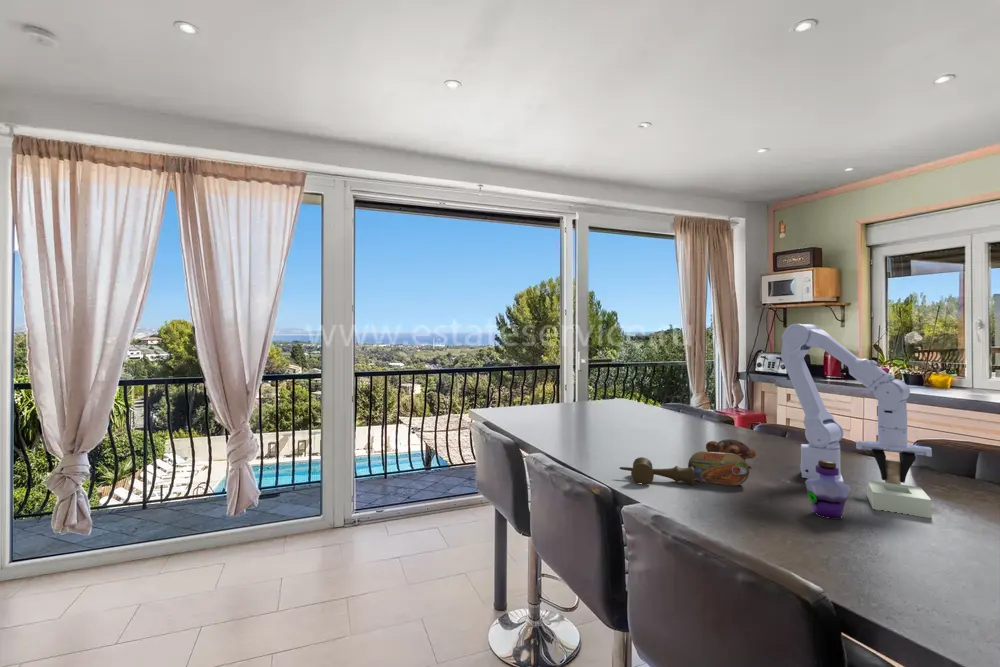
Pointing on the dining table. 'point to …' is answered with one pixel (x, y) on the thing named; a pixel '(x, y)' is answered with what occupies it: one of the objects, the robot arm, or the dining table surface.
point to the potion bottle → (827, 491)
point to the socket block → (899, 498)
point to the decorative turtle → (731, 448)
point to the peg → (893, 471)
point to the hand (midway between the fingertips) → (892, 480)
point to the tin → (719, 468)
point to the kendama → (658, 472)
